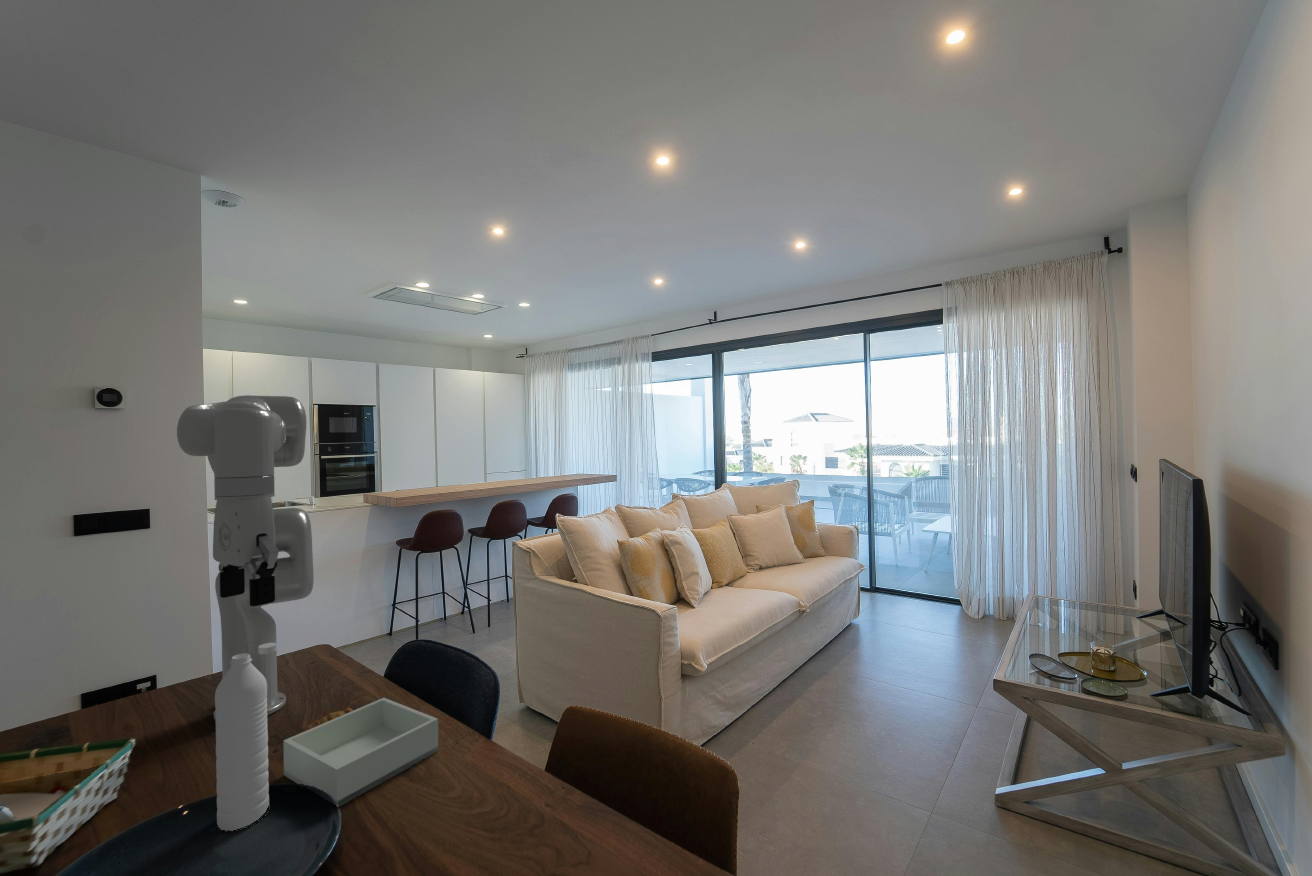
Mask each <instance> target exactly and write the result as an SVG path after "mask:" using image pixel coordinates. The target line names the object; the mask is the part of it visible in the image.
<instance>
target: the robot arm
mask: <svg viewBox="0 0 1312 876" xmlns="http://www.w3.org/2000/svg"><path fill="white" fill-rule="evenodd" d="M306 435H307V414H306V409H305V407H304V405H303V403H302V402H301V401H300V400H299V399H297V398H296V397H293V396H287V395H284V396H283V395H282V396H281V395H278V396H277V395H251V394H250V395H236V396H233V397H232V398H229V399H227V400H226V401H221V402H213V403H212V402H211V403H204V404H202V403H201V404H196V405H190V406H188V407H187V408H185V409H184V410H183V411H182V413H181V415H180V417H179V419H178V421H177V426H176V439H177V443H178V445H179V447H180V449H181V450H182V451H183V452H184V453H185V455H186V454H187V455H188V456H191V457H193V456H194V457H207V459H208V462H209V463H208V464H209V466H210V468H211V470H212V472H213V474H214V475H213V478H214V479H213V480H214V483H213V484H214V485H213V487H214V500H215V501H216V503H215V509H214V517H213V519H214V520H213V536H212V537H213V538H212V558H213V559H214V560H215V561H216V562H218V563H219V565H218V571H219V572H218V574H217V576H216V578H215V583H214V586H215V588H214V589H215V594H216V599H217V604H218V608H219V617H220V628H221V629H220V630H221V670H222V674H221V676H222V678H221V680H222V679H223V678H224V676H225V675H226V673H227V672H228V671H229V669H230V668H231V665H230V663H231V661H232V657H233V656H235V655H238V654H243V653H248V654H250V658H251V659H252V660H251V664H252V665H254V666H255V667H256V668H257V669H258V670H259V671H260V672H261V673H262V675H263V676H264V677H265V679H266V682H267V716H270V715H271V714H274V713H275V712H277V711H279V710H280V709H282V707H284V705H286V701H287V697H286V695H285V693H283V692H280V691H278V662H277V661H278V659H277V655H278V653H277V651H278V650H276V651H274V652H271V653H267V654H259V653H258V647H259V646H260V645H262V644H266V643H276V644H277V624H276V622H275V619H274V618H273V616H272V615H271V614H269V612H267V611H266V610H265V609H264V608H262V607H263V606H268V605H271V604H279V603H285V602H286V603H287V602H290V601H297V600H301V599H305V598H307V597H309V596H310V595H311V594H312V591H313V589H314V582H315V581H314V580H315V579H314V557H313V556H314V555H313V537H312V536H313V534H312V533H313V532H312V525H311V524H312V523H311V519H310V516H309V515H308V512H307V511H306V510H304V509H302V508H298V507H286V508H285V507H284V508H274V507H273V501H272V500H273V499H272V498H274V497H275V496H276V494H275V493H276V492H275V468H282V467H283V468H287V467H295V466H298V465H299V464H300V463H301V462H302V460H303V459H304V456H305V449H306V438H307V436H306ZM281 552H284V553H286V554H288V555H289V556H285V557H278V556H279V553H281ZM274 650H275V649H274ZM271 651H272V650H271ZM267 652H269V651H267ZM215 716H216V713H215V710H214V712H213V720H214V721H215V722H216V717H215Z"/></svg>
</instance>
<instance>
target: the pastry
mask: <svg viewBox="0 0 1312 876" xmlns="http://www.w3.org/2000/svg"><path fill="white" fill-rule="evenodd" d="M352 711H354V710H353V708H349V707H346V709H344V710H337V711H334V712H330V713H328V714H326V715H325V716H322V718H320V719H318V720H314V721H313V722H312V723H310V724H308V725H307V726H305V727H304V728H303V729H302V730H301V733H302V732H305V731H307V730H309V729H312V728H314V727H316V726H319V725H321V724H323V723H326V722H328V721H330V720H333V719H335V718H337V717H340V716H342V715H345V714H347V713H349V712H352Z"/></svg>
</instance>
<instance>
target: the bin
mask: <svg viewBox="0 0 1312 876" xmlns="http://www.w3.org/2000/svg"><path fill="white" fill-rule="evenodd" d="M282 744H283V776H284V777H286V778H288V779H290V780H291V781H293V782H294V783H296V784H297V785H299V784H304V785H309V786H314V787H316V788H318V789H320V790H323V791H324V792H326V793H328V794H329V795H331V797H333V799H334V800H335V801H336V802H337V804H338V805H339V806H340V807H341V806H343V805H345V804H347V803H349V802H350V801H352V800H353V799H355V798H358V797H359V796H361V795H362V794H365V793H366V792H368V791H370V790H372V789H374V788H375V787H377V786H379V785H381V784H382V783H384V782H386V781H388V780H390V779H392V778H394V777H395V776H397V775H399V774H400V773H402V772H404V771H406V770H409V768H411V767H413V766H415V765H416V764H418V763H421V761H424V760H425V759H427V758H428V757H430V756H432V755H434V754H436V753H438V752H439V718H437V717H435V716H431V715H429V714H427V713H425V712H421V711H419V710H417V709H414V708H412V707H408V706H407V705H403V704H401V703H398V702H396V701H394V700H391V699H388V698H386V697H382V698H380V699H377V700H375V701H373V702H370V703H368V704H366V705H363V706H361V707H358V708H356V709H355V710H353V711H352V712H349V713H347V714H345V715H342V716H340V717H337V718H335V719H333V720H330V721H328V722H326V723H323V724H321V725H319V726H316V727H314V728H312V729H309V730H307V731H305V732H302V731H301V733H297V734H296V735H293V736H291V737H288V738H286V739H284V740H283V743H282ZM423 759H424V760H423ZM414 764H415V765H414ZM412 765H413V766H412ZM398 773H399V774H398ZM357 796H358V797H357Z"/></svg>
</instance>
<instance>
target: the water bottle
mask: <svg viewBox="0 0 1312 876" xmlns="http://www.w3.org/2000/svg"><path fill="white" fill-rule="evenodd" d="M274 649H275V650H274ZM277 649H278V648H277V642H276V643H266V644H262V645H260V646H259V647H258V653H259V654H267V653H271V652H274V651H276V650H277ZM271 650H272V651H271ZM267 651H269V652H267ZM277 651H278V650H277ZM251 660H252V659H251V658H250V654H248V653H243V654H238V655H235V656H233V657H232V661H231V663H230V665H231V668H230V669H229V671H228V672H227V673H226V675H225V676H224V678H223V679H222V678H221V680H220V682H219V684H218V685H217V687H216V689H215V693H214V707H215V710H214V711H215V713H216V716H215V717H216V721H215V741H216V743H215V756H216V761H215V767H216V768H215V769H216V773H215V775H216V795H217V796H216V808H217V811H216V824H217V825H218V826H217V825H216V826H217V827H219V828H220V829H221V830H220V829H219V828H218V829H219V830H220V831H222V830H225V831H224V832H228V831H230V832H233V831H234V830H236V831H238V830H237V829H240V828H242V827H243V828H246V827H245V826H247V825H250V824H251V823H253V822H254V821H256V820H258V819H259V818H260V817H261V816H262V815H263V814H264V813H265V812H266V810H267V808H268V806H269V807H270V794H269V791H270V788H269V787H270V784H269V774H270V773H269V757H268V756H269V745H268V743H269V733H268V727H269V726H268V715H267V682H266V679H265V677H264V676H263V675H262V673H261V672H260V671H259V670H258V669H257V668H256V667H255V666H254V665H252V664H251ZM258 821H259V820H258ZM243 828H242V829H243ZM240 830H241V829H240ZM234 832H235V831H234Z"/></svg>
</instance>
